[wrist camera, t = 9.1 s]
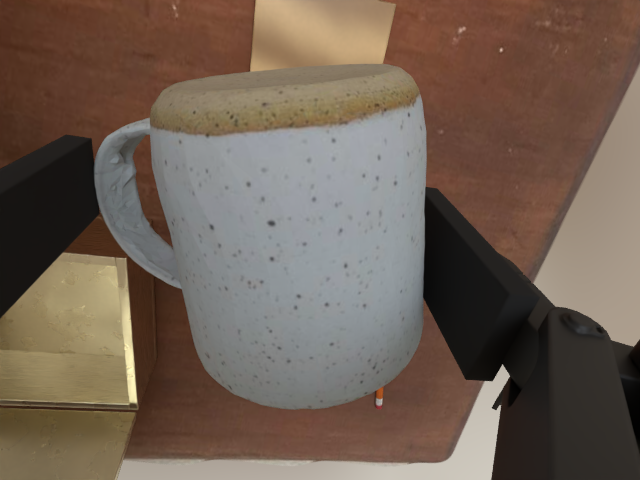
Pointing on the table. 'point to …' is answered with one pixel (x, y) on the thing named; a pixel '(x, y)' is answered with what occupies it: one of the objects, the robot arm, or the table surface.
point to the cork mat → (319, 33)
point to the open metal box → (82, 330)
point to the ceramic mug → (285, 224)
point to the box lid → (63, 444)
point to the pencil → (379, 398)
